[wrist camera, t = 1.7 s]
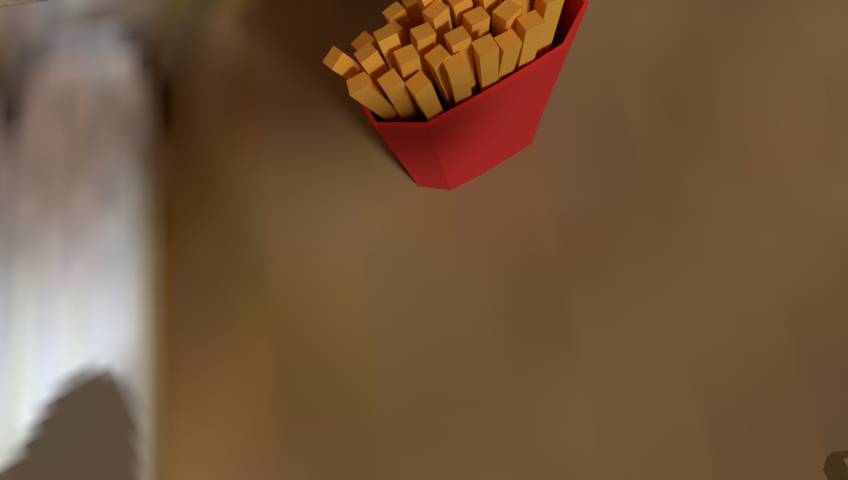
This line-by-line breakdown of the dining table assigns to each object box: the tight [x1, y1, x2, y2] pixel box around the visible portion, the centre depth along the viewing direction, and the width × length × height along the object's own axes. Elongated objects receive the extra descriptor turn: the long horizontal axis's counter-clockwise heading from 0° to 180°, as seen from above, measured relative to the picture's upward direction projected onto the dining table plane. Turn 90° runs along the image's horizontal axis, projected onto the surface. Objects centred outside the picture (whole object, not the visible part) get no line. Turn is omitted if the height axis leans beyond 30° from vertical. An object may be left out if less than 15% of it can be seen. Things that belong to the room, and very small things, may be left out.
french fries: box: [323, 0, 589, 190], centre depth 27 cm, size 8×4×12 cm, turn 120°
